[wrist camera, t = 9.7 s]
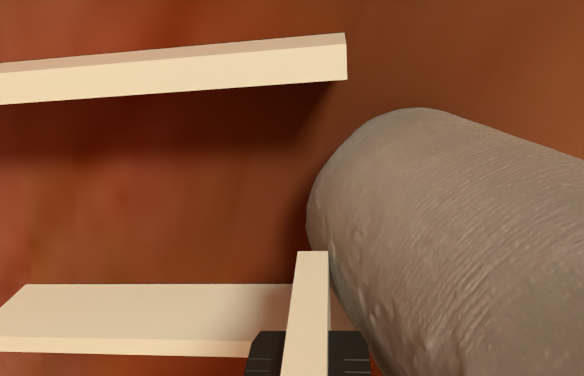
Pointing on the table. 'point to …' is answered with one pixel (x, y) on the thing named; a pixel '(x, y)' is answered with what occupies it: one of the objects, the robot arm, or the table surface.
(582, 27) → the table surface
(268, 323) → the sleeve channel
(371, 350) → the pillar candle
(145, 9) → the table surface
